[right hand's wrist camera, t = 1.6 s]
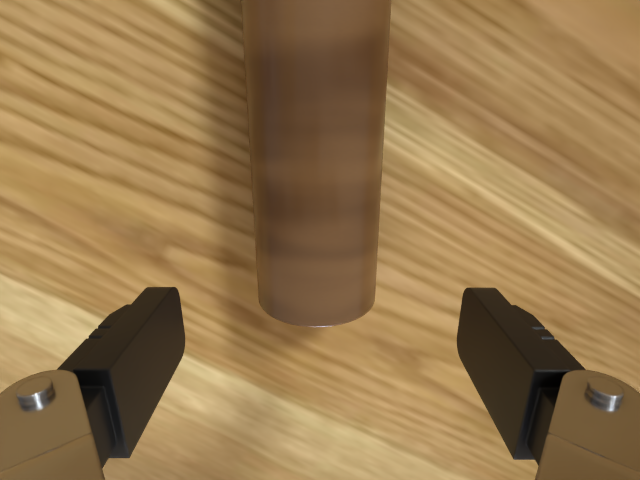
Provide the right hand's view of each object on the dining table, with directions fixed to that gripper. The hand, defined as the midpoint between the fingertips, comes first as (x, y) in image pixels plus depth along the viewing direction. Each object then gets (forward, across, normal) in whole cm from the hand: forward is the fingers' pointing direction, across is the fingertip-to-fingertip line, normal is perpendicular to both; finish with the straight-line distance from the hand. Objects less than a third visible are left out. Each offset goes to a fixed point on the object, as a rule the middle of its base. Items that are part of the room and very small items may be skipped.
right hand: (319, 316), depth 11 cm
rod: (+11, 0, -8) cm, 13 cm away
